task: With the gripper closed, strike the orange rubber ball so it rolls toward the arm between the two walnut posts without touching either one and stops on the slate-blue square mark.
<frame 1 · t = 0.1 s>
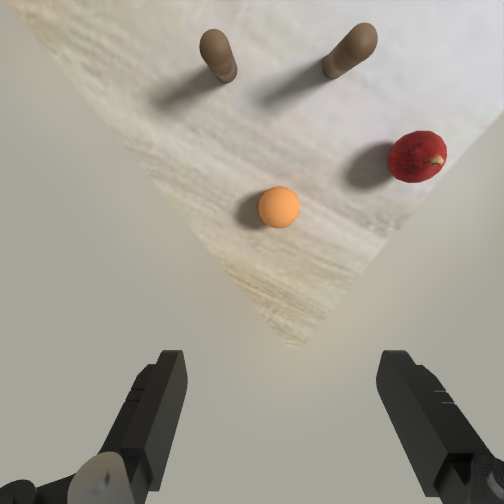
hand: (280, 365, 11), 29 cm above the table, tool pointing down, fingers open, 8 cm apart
onion: (399, 154, 34), on the table
ball: (279, 207, 35), on the table
post 2: (334, 65, 30), on the table
post 1: (226, 69, 31), on the table
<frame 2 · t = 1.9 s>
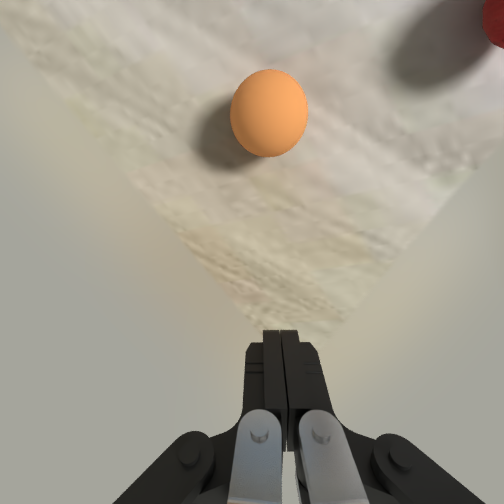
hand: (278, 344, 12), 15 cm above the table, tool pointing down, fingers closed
onion: (496, 14, 18), on the table
ball: (268, 116, 19), on the table
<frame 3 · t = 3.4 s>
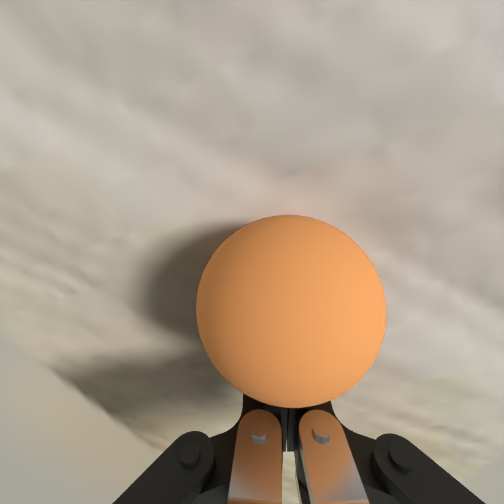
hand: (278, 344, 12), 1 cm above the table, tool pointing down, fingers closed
ball: (286, 304, 8), on the table, touching gripper
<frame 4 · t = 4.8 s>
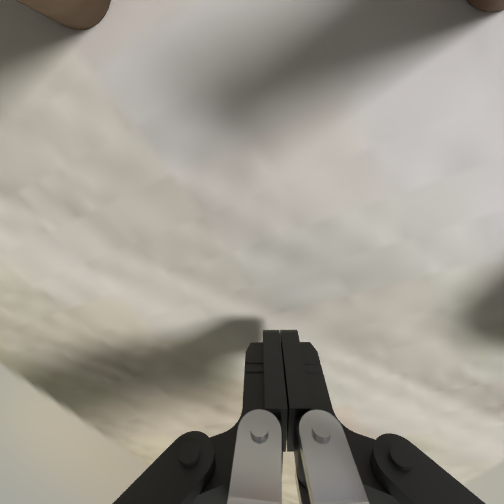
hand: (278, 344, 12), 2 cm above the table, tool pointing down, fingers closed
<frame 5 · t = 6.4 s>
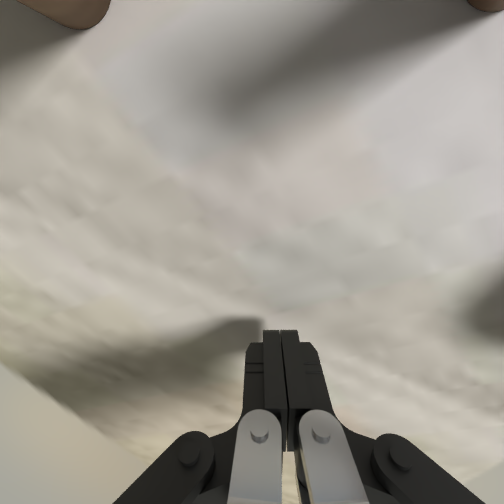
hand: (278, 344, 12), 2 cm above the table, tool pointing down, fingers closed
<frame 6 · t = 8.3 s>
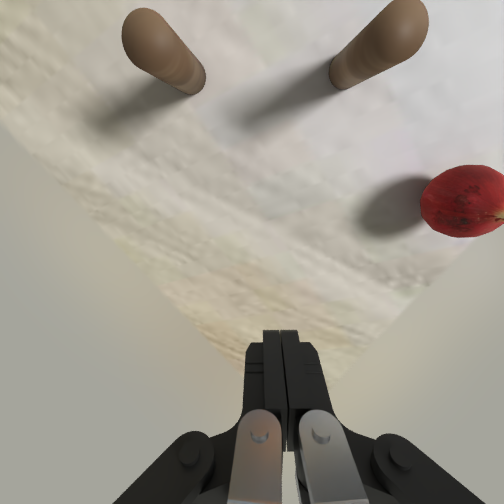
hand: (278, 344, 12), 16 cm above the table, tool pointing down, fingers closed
onion: (434, 192, 25), on the table
post 2: (345, 70, 21), on the table
post 1: (190, 76, 21), on the table
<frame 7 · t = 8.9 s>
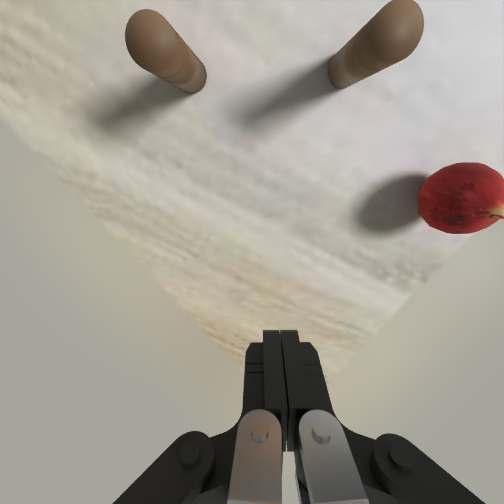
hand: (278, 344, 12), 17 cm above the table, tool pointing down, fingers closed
onion: (431, 189, 25), on the table
post 2: (343, 69, 21), on the table
post 1: (191, 75, 22), on the table
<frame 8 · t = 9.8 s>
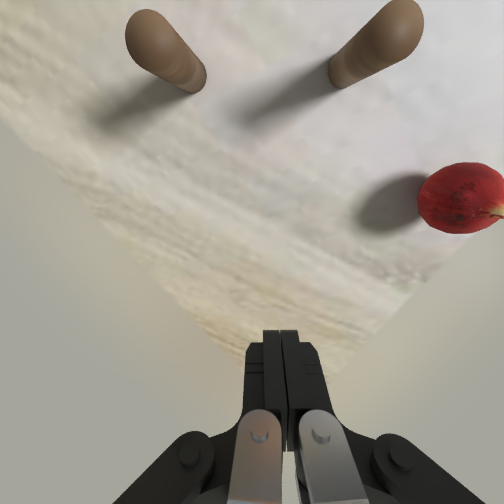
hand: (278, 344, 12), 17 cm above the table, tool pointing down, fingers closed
onion: (431, 189, 25), on the table
post 2: (343, 69, 21), on the table
post 1: (191, 75, 22), on the table
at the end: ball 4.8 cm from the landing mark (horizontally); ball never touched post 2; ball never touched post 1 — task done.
